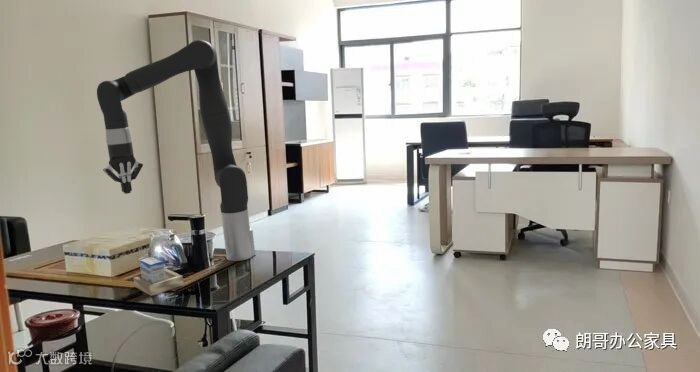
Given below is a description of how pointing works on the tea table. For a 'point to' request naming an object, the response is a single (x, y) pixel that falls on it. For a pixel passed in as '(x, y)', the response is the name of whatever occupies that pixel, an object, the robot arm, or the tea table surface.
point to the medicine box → (152, 270)
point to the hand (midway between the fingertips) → (127, 193)
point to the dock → (159, 283)
